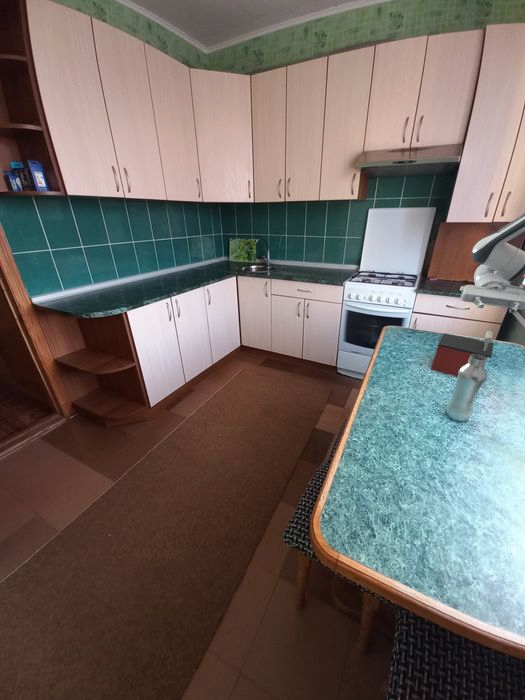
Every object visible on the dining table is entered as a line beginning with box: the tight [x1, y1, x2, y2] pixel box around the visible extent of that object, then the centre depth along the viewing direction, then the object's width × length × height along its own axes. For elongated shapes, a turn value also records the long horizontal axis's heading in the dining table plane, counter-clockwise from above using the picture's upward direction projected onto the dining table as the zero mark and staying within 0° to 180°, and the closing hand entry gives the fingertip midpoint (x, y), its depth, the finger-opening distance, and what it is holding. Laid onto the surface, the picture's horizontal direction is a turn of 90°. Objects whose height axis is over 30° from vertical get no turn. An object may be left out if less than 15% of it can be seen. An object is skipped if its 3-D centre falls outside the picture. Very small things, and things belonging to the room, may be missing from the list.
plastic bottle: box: [445, 354, 487, 422], centre depth 81 cm, size 6×7×20 cm
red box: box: [430, 345, 489, 377], centre depth 107 cm, size 15×12×10 cm
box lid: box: [437, 330, 494, 359], centre depth 103 cm, size 16×12×6 cm
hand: (497, 308), depth 100 cm, fingers open, 8 cm apart
